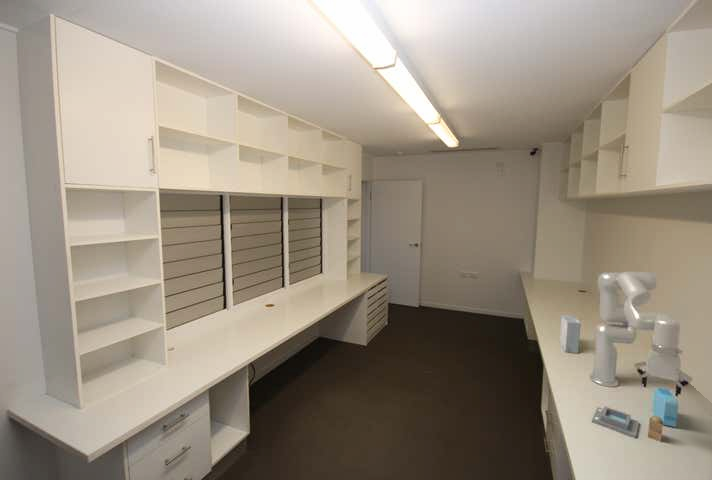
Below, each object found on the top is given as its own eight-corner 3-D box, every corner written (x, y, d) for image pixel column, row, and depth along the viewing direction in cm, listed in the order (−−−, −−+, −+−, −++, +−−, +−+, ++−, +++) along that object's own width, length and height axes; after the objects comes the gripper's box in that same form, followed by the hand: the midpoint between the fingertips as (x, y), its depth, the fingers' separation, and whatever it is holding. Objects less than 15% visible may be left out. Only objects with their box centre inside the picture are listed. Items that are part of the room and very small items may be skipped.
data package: (675, 428, 147) (679, 402, 145) (662, 426, 148) (665, 399, 147) (664, 412, 157) (667, 388, 156) (651, 410, 159) (654, 386, 158)
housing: (597, 409, 160) (598, 402, 160) (639, 423, 150) (639, 416, 149) (591, 422, 151) (592, 414, 150) (635, 438, 140) (636, 430, 140)
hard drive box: (578, 354, 217) (581, 323, 215) (564, 352, 220) (567, 322, 217) (572, 344, 232) (574, 315, 230) (559, 342, 234) (561, 314, 232)
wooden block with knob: (648, 432, 144) (650, 413, 143) (661, 437, 141) (663, 417, 140) (647, 437, 141) (649, 417, 140) (660, 441, 139) (663, 422, 138)
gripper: (694, 353, 134) (690, 395, 135) (637, 340, 145) (634, 379, 147) (695, 359, 128) (690, 402, 130) (635, 346, 140) (631, 386, 142)
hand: (660, 390), depth 139 cm, fingers open, 9 cm apart
